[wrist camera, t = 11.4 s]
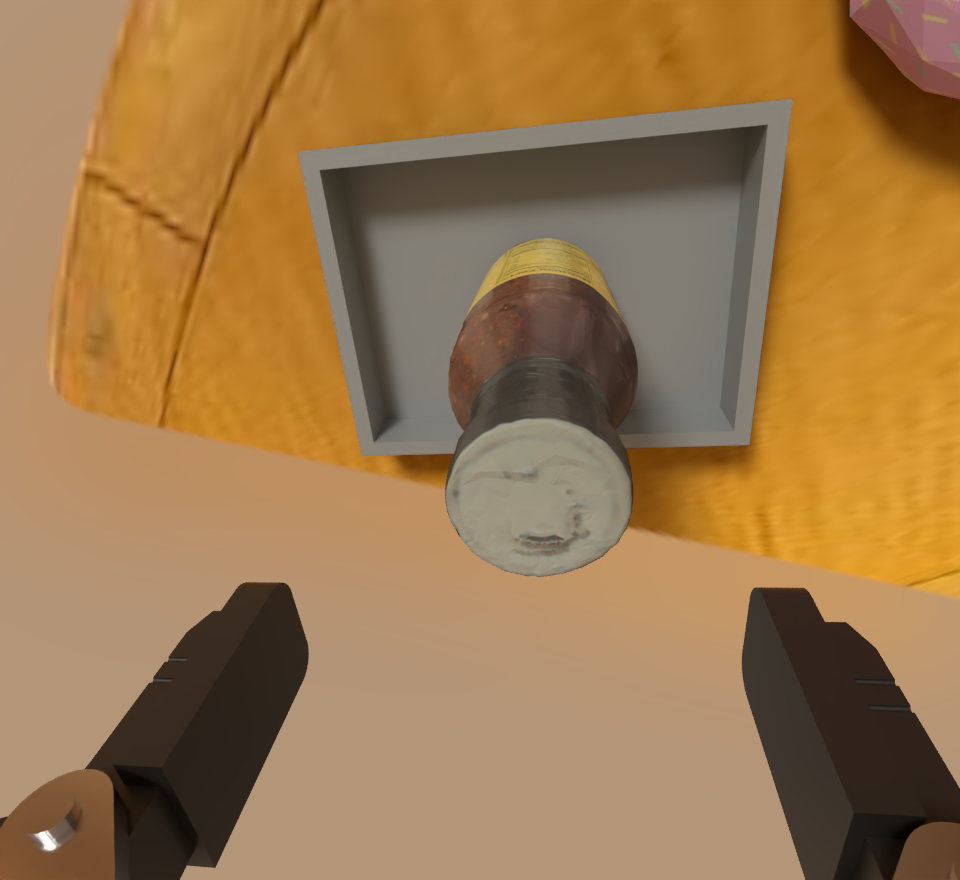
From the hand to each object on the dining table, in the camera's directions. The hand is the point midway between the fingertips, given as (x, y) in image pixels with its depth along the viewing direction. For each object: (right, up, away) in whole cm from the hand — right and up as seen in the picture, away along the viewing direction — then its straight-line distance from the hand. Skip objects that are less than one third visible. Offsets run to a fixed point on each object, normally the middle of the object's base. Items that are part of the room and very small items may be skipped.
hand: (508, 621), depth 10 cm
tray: (+3, +11, +20) cm, 23 cm away
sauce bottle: (+3, +11, +20) cm, 23 cm away
